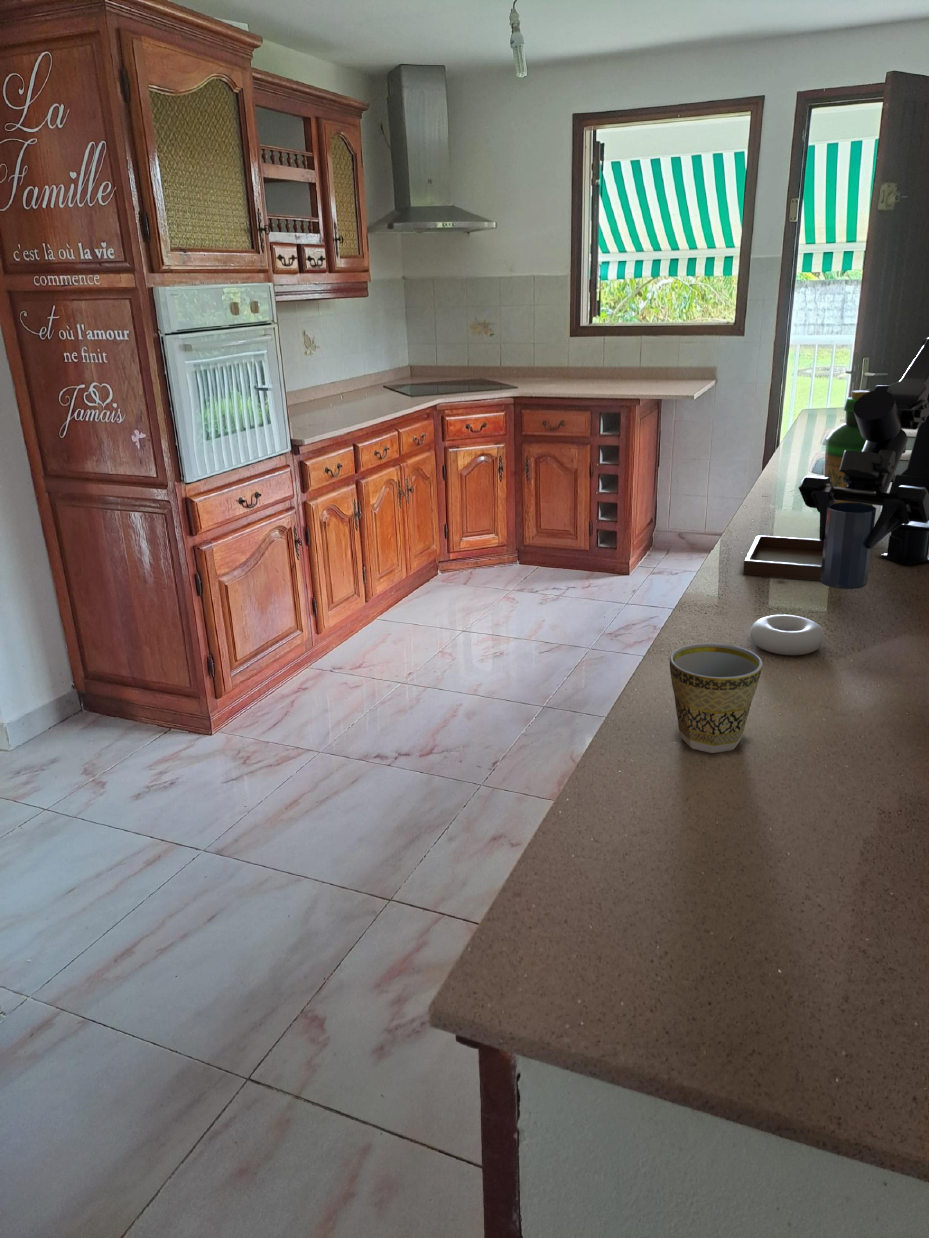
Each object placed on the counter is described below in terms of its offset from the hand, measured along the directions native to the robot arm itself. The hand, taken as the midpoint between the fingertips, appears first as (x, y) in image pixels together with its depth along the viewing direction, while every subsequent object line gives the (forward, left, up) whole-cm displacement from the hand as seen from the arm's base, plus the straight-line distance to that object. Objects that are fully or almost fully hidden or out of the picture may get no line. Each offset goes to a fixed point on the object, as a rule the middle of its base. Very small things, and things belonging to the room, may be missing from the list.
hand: (844, 543), depth 135 cm
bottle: (-33, -35, -11) cm, 49 cm away
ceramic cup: (+42, +26, -11) cm, 50 cm away
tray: (-9, -23, -11) cm, 27 cm away
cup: (-1, -1, -7) cm, 7 cm away
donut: (+17, +8, -11) cm, 22 cm away
